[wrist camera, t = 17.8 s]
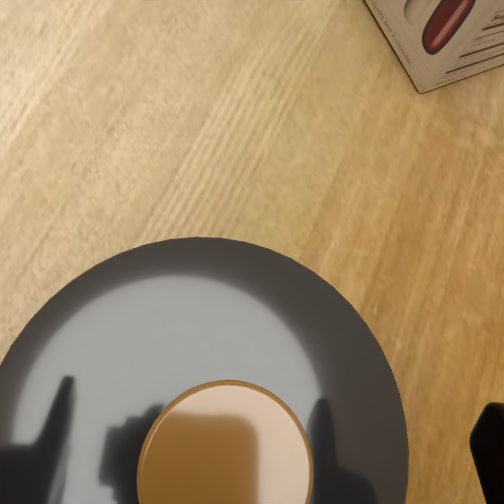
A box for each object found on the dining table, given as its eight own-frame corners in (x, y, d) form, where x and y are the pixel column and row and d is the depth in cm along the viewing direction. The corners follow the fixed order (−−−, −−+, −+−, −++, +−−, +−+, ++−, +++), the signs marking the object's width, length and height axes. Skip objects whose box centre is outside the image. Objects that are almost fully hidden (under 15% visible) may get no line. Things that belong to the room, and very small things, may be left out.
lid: (455, 483, 15) (670, 552, 8) (131, 784, 11) (83, 1262, 5) (251, 192, 16) (302, 64, 10) (-82, 384, 13) (-316, 375, 7)
